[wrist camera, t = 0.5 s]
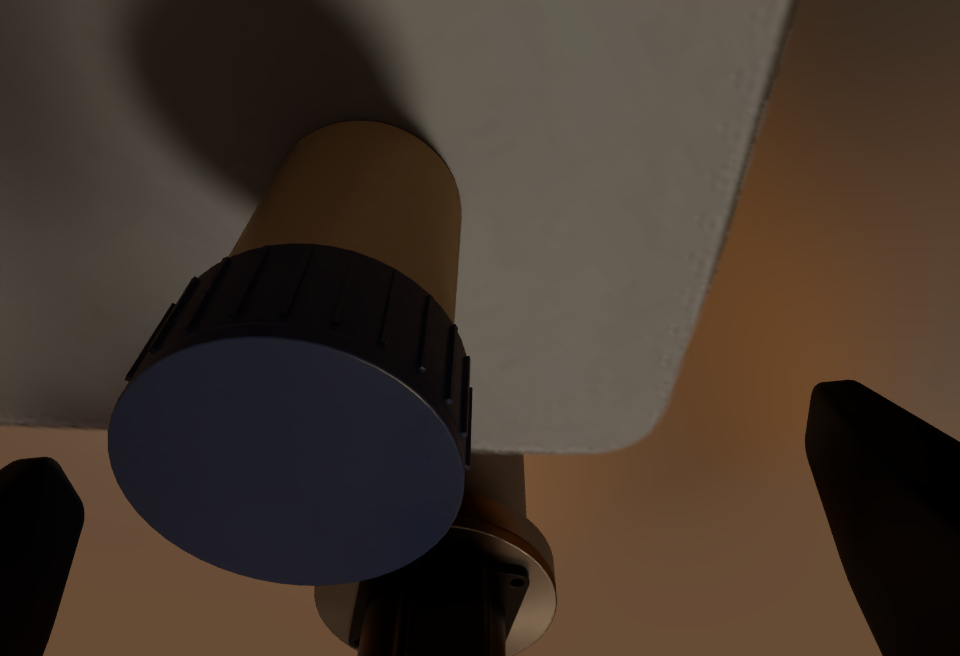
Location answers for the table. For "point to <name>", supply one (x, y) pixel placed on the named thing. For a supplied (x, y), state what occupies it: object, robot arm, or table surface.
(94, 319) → the table surface
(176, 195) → the table surface
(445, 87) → the table surface
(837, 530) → the robot arm
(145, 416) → the jar lid
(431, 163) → the jar
